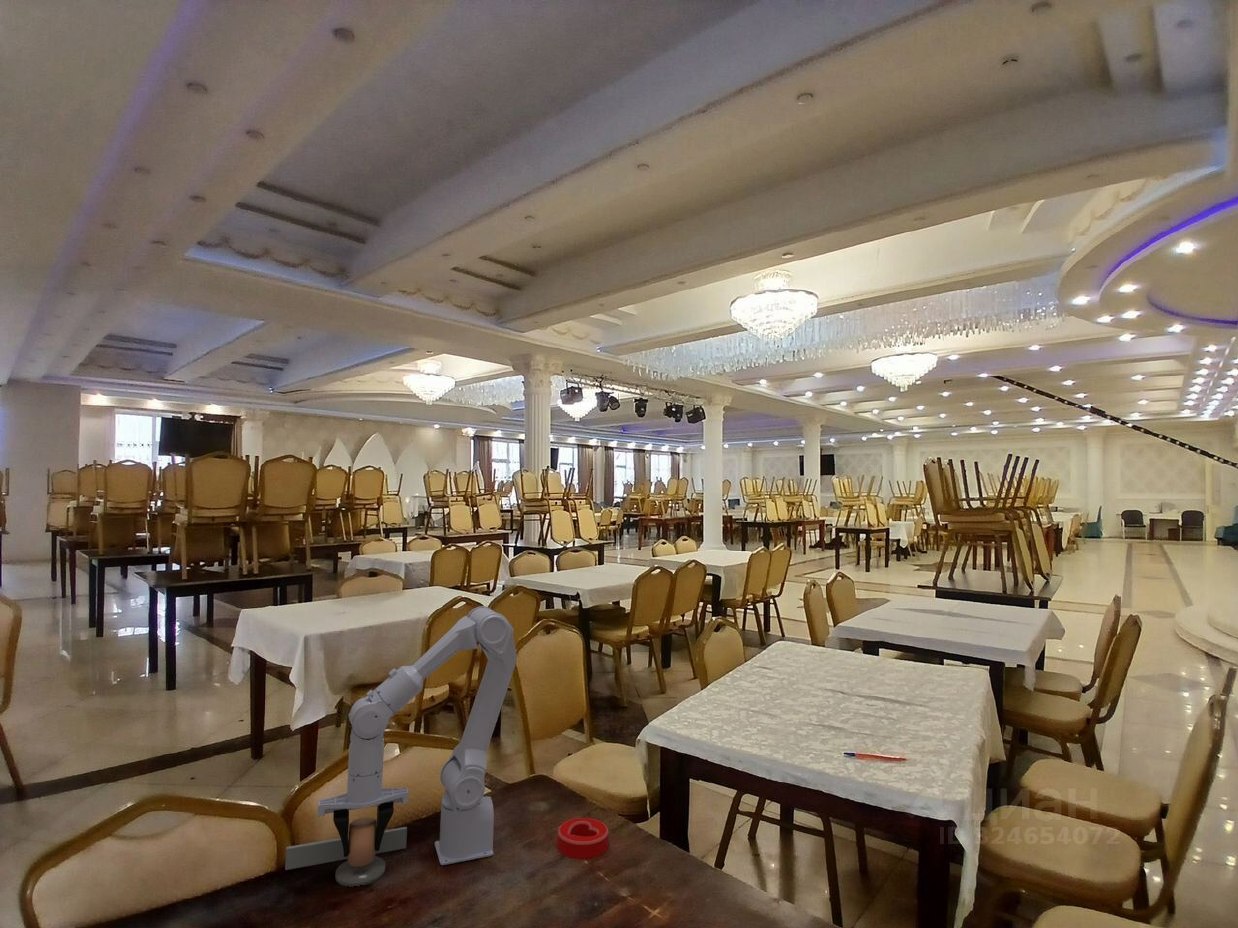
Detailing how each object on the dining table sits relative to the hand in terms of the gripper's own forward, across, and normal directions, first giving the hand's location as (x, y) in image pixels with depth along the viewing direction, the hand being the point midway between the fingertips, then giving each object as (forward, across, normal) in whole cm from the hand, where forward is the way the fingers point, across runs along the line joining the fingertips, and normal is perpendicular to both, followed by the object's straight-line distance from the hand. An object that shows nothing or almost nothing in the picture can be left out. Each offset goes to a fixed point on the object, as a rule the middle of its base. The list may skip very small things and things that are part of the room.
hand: (361, 850), depth 111 cm
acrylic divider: (+4, +2, -6) cm, 7 cm away
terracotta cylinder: (+1, 0, 0) cm, 1 cm away
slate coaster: (+4, 0, 0) cm, 4 cm away
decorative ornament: (+4, -39, +5) cm, 40 cm away
